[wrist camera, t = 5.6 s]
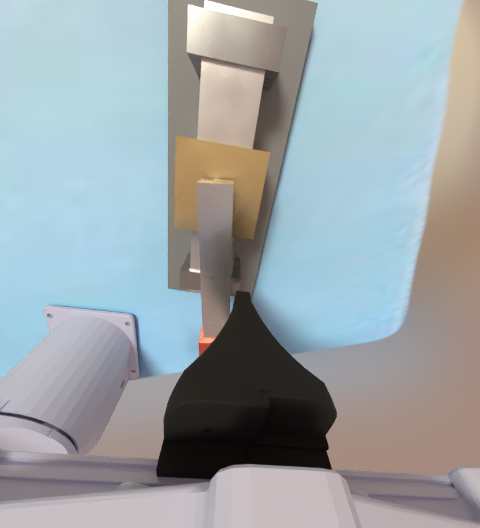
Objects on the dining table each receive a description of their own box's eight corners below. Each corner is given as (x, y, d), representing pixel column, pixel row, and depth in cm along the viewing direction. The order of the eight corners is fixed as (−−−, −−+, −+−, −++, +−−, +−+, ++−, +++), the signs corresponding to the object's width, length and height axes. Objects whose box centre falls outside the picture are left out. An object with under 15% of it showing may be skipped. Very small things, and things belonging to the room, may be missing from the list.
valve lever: (197, 177, 10) (188, 183, 8) (238, 179, 10) (239, 185, 8) (205, 346, 16) (200, 373, 14) (232, 346, 16) (231, 374, 14)
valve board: (250, 291, 19) (251, 298, 18) (171, 281, 19) (168, 288, 18) (311, 15, 11) (317, 3, 10) (174, -19, 11) (168, -35, 10)
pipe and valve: (239, 275, 18) (239, 306, 14) (186, 268, 17) (173, 298, 14) (279, 53, 11) (299, 6, 8) (196, 34, 11) (177, -25, 7)
